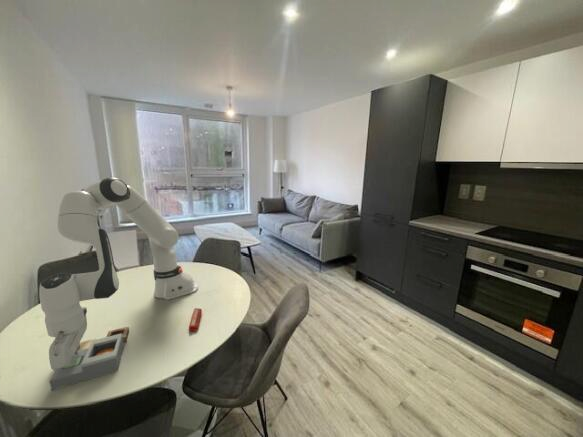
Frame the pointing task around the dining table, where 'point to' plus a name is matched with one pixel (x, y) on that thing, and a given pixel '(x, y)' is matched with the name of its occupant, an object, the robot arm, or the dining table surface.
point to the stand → (118, 331)
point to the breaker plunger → (105, 351)
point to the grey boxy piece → (91, 362)
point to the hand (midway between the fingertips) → (74, 359)
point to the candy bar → (195, 319)
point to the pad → (85, 344)
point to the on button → (74, 363)
